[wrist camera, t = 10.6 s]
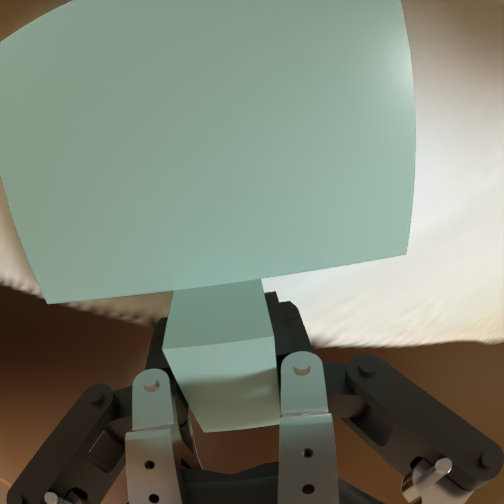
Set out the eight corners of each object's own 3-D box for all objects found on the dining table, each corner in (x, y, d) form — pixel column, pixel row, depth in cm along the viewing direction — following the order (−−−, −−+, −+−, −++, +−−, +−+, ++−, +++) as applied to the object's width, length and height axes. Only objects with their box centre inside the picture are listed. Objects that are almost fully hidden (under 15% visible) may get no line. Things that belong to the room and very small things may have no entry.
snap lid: (378, -13, 6) (442, -46, 3) (376, 329, 13) (410, 388, 10) (6, 52, 6) (-62, 48, 2) (101, 365, 13) (82, 427, 9)
